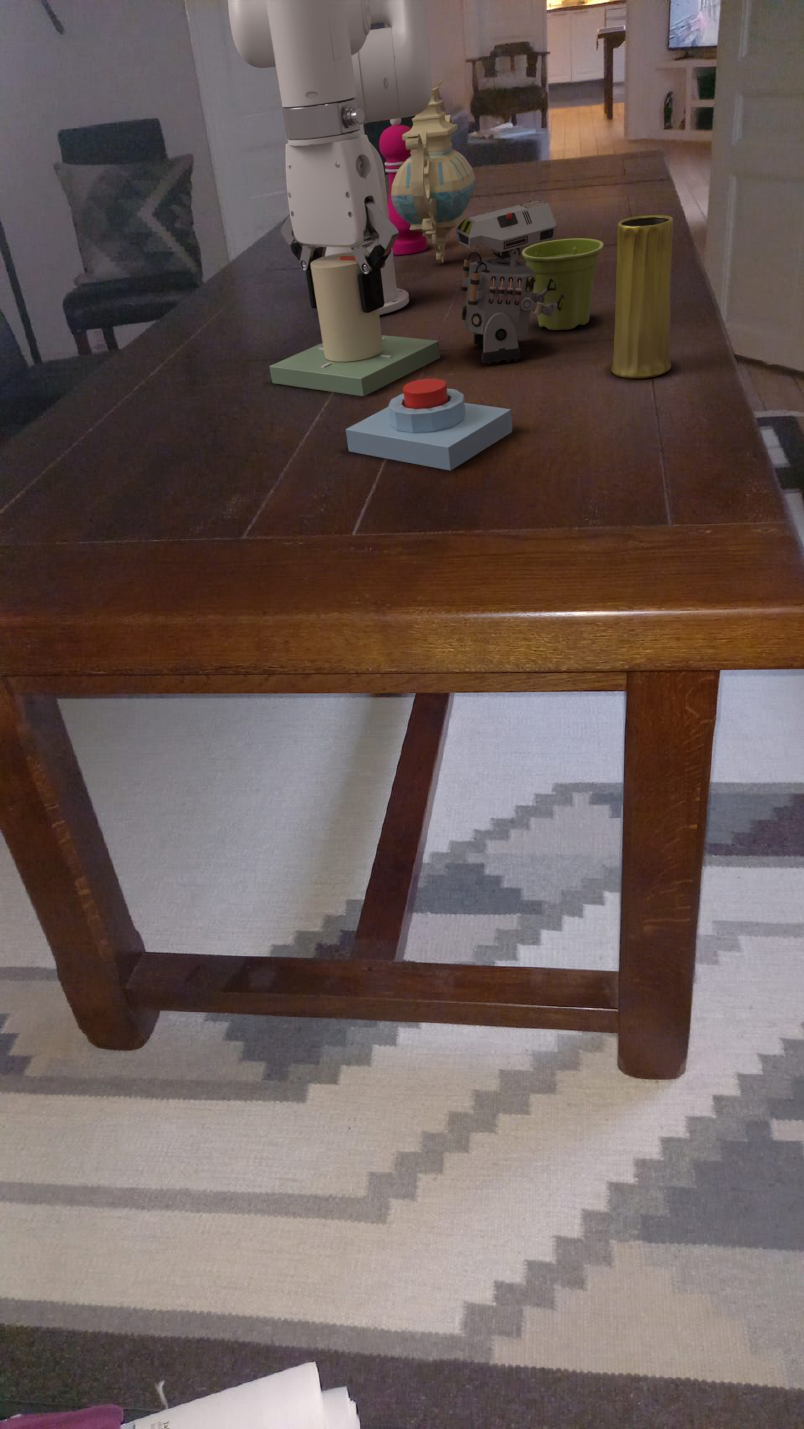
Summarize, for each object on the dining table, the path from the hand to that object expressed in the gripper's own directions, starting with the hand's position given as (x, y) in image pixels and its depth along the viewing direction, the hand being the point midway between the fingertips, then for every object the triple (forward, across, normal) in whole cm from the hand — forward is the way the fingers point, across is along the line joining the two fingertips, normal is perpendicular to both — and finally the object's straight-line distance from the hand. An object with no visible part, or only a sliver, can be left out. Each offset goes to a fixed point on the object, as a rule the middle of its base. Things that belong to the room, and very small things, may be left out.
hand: (347, 306), depth 110 cm
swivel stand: (+7, 0, 0) cm, 7 cm away
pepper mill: (+7, +35, -55) cm, 66 cm away
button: (+4, -22, +15) cm, 27 cm away
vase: (+7, -31, -10) cm, 33 cm away
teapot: (+7, +23, -48) cm, 54 cm away
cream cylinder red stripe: (+5, 0, 0) cm, 5 cm away
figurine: (+7, -14, -12) cm, 20 cm away
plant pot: (+7, -14, -23) cm, 28 cm away
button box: (+7, -22, +15) cm, 28 cm away
